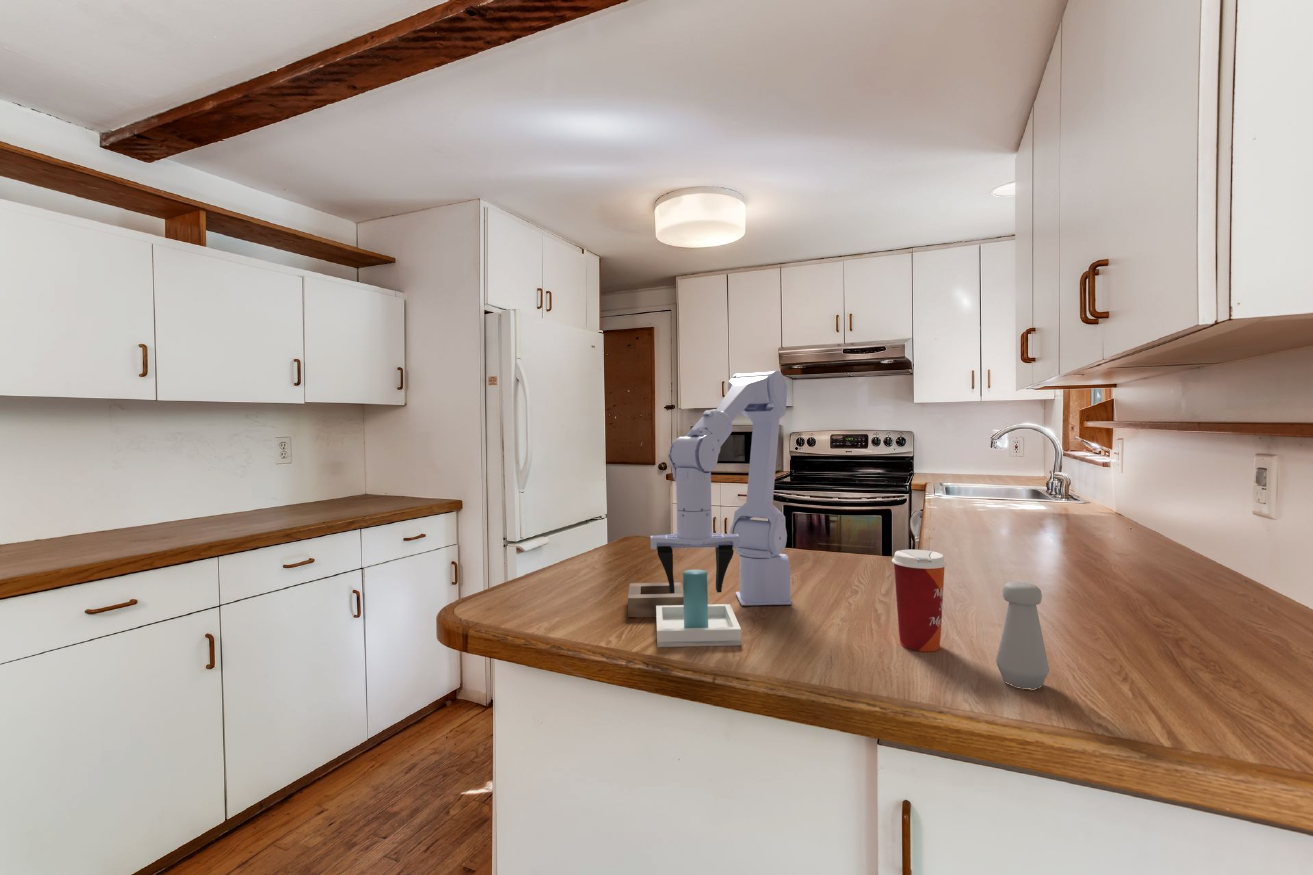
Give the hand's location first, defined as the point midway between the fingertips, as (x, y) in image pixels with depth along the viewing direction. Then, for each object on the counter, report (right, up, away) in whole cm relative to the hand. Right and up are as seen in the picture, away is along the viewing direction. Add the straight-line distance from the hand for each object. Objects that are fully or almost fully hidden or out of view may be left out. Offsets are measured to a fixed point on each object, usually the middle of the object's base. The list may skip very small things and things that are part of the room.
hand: (695, 591), depth 99 cm
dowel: (0, -6, 0) cm, 6 cm away
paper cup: (+34, -7, -8) cm, 35 cm away
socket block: (-7, -7, +13) cm, 16 cm away
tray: (0, -7, 0) cm, 7 cm away
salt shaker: (+41, -7, -21) cm, 47 cm away
